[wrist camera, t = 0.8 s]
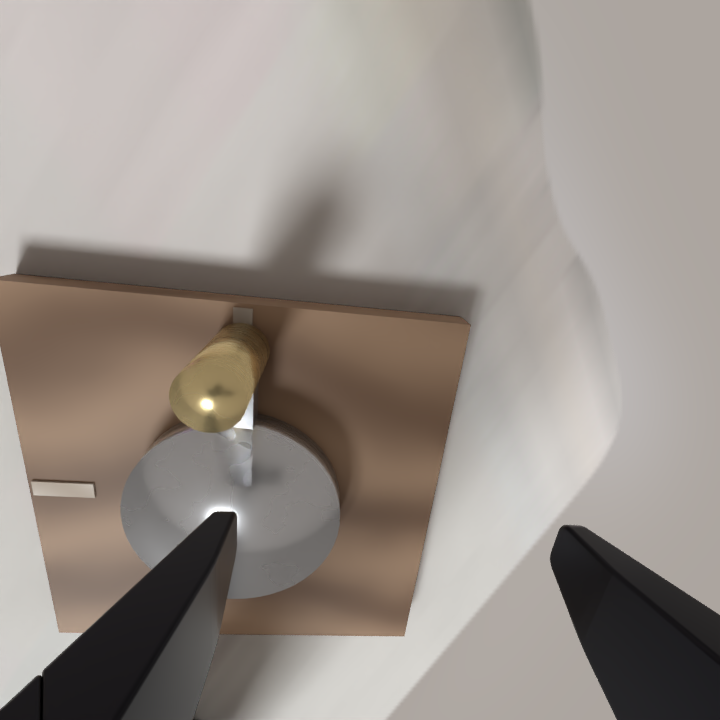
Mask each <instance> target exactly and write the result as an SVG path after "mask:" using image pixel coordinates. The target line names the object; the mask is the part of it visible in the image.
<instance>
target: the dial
mask: <svg viewBox="0 0 720 720" xmlns="http://www.w3.org/2000/svg"><path fill="white" fill-rule="evenodd" d="M269 354H270V347H269V343H268V341H267V338H266V337H265V335H264V334H263V333H262V332H261V331H260V330H259V329H257V328H256V327H254V326H252V325H250V324H246V323H233V324H230V325H227V326H225V327H224V328H222V329H221V330H220V331H219V332H218V333H217V334H216V335H215V336H214V337H213V338H212V340H211V341H210V342H209V343H208V344H207V345H206V346H205V347H204V348H203V349H202V350H201V351H200V352H199V353H198V354H197V355H196V356H195V357H194V358H193V359H192V360H191V361H190V362H189V363H188V365H187V366H186V367H185V368H184V369H183V370H182V371H181V372H180V373H179V374H178V375H177V376H176V377H175V379H174V380H173V382H172V384H171V386H170V390H169V401H170V405H171V408H172V410H173V412H174V413H175V415H176V416H177V417H178V419H179V420H180V421H181V423H179V424H177V425H175V426H173V427H172V428H170V429H169V430H168V431H166V432H165V433H163V434H162V435H161V436H160V437H159V438H158V439H157V440H156V441H155V442H154V443H153V444H152V445H151V447H150V448H149V449H148V451H147V452H146V453H145V454H144V456H143V457H142V458H141V460H140V461H139V462H138V464H137V465H136V466H135V467H134V469H133V470H132V471H131V473H130V475H129V477H128V479H127V481H126V483H125V486H124V489H123V492H122V497H121V504H120V508H121V520H122V525H123V529H124V532H125V534H126V537H127V539H128V541H129V543H130V545H131V547H132V548H133V550H134V551H135V553H136V554H137V555H138V557H139V558H140V559H141V560H142V561H143V562H144V563H145V564H146V565H147V566H148V567H149V568H150V569H151V570H152V569H153V568H154V567H155V566H156V565H157V564H158V563H159V562H160V561H161V560H162V559H163V558H165V557H166V556H167V555H168V554H169V553H170V552H171V551H172V550H173V549H174V548H175V547H176V546H177V545H179V544H180V543H181V542H182V541H183V540H184V539H185V538H186V537H187V536H188V535H189V534H190V533H191V532H193V531H194V530H195V529H196V528H197V527H198V526H199V525H200V524H201V523H202V522H203V521H204V520H205V519H207V518H208V517H209V516H210V515H211V514H212V513H213V512H215V511H233V512H235V513H236V514H237V551H236V557H235V562H234V567H233V572H232V576H231V581H230V586H229V591H228V595H227V599H247V598H255V597H261V596H266V595H270V594H273V593H276V592H279V591H282V590H285V589H287V588H289V587H291V586H294V585H295V584H297V583H299V582H300V581H302V580H304V579H305V578H307V577H308V576H309V575H310V574H312V573H313V572H314V571H315V570H316V569H317V568H318V567H319V566H320V565H321V564H322V563H323V562H324V560H325V559H326V558H327V556H328V555H329V553H330V551H331V550H332V548H333V546H334V543H335V541H336V538H337V535H338V530H339V525H340V500H339V487H338V481H337V478H336V474H335V471H334V469H333V467H332V465H331V463H330V461H329V459H328V458H327V456H326V455H325V453H324V452H323V451H322V450H321V448H320V447H319V446H318V445H317V444H316V443H315V442H314V441H313V440H312V439H311V438H309V437H308V436H307V435H306V434H304V433H303V432H302V431H300V430H299V429H297V428H296V427H294V426H292V425H290V424H288V423H286V422H284V421H282V420H279V419H276V418H274V417H271V416H267V415H263V414H259V413H258V384H259V379H260V377H261V375H262V372H263V370H264V368H265V366H266V363H267V361H268V359H269Z"/></svg>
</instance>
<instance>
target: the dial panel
mask: <svg viewBox="0 0 720 720" xmlns="http://www.w3.org/2000/svg"><path fill="white" fill-rule="evenodd" d="M233 323H246V324H250V325H252V326H254V327H256V328H257V329H259V330H260V331H261V332H262V333H263V334H264V335H265V337H266V338H267V341H268V343H269V347H270V354H269V359H268V361H267V363H266V366H265V368H264V370H263V372H262V375H261V377H260V379H259V384H258V413H259V414H263V415H267V416H271V417H274V418H276V419H279V420H282V421H284V422H286V423H288V424H290V425H292V426H294V427H296V428H297V429H299V430H300V431H302V432H303V433H304V434H306V435H307V436H308V437H309V438H311V439H312V440H313V441H314V442H315V443H316V444H317V445H318V446H319V447H320V448H321V450H322V451H323V452H324V453H325V455H326V456H327V458H328V459H329V461H330V463H331V465H332V467H333V469H334V471H335V474H336V478H337V481H338V487H339V500H340V525H339V530H338V535H337V538H336V541H335V543H334V546H333V548H332V550H331V551H330V553H329V555H328V556H327V558H326V559H325V560H324V562H323V563H322V564H321V565H320V566H319V567H318V568H317V569H316V570H315V571H314V572H313V573H312V574H310V575H309V576H308V577H307V578H305V579H304V580H302V581H300V582H299V583H297V584H295V585H294V586H291V587H289V588H287V589H285V590H282V591H279V592H276V593H273V594H270V595H266V596H261V597H255V598H247V599H227V600H226V605H225V610H224V614H223V619H222V624H221V629H220V633H219V634H247V635H338V636H404V635H405V630H406V625H407V621H408V616H409V611H410V607H411V602H412V597H413V593H414V588H415V583H416V579H417V574H418V569H419V564H420V560H421V555H422V550H423V546H424V541H425V536H426V532H427V527H428V522H429V518H430V513H431V508H432V504H433V499H434V494H435V490H436V485H437V480H438V476H439V471H440V466H441V462H442V457H443V452H444V448H445V443H446V438H447V434H448V429H449V424H450V420H451V415H452V410H453V405H454V401H455V396H456V391H457V387H458V382H459V377H460V373H461V368H462V363H463V359H464V354H465V349H466V345H467V340H468V335H469V331H470V326H471V325H470V324H469V323H468V322H466V321H465V320H464V319H463V318H461V317H458V316H447V315H437V314H427V313H416V312H406V311H396V310H385V309H375V308H365V307H354V306H344V305H333V304H323V303H313V302H302V301H292V300H282V299H271V298H261V297H251V296H240V295H230V294H219V293H209V292H199V291H188V290H178V289H168V288H157V287H147V286H137V285H126V284H116V283H105V282H95V281H85V280H74V279H64V278H54V277H43V276H33V275H23V274H11V275H6V276H0V347H1V352H2V357H3V362H4V366H5V371H6V376H7V381H8V386H9V391H10V396H11V400H12V405H13V410H14V415H15V420H16V425H17V430H18V434H19V439H20V444H21V449H22V454H23V459H24V464H25V468H26V473H27V478H28V483H29V488H30V493H31V498H32V503H33V507H34V512H35V517H36V522H37V527H38V532H39V537H40V541H41V546H42V551H43V556H44V561H45V566H46V571H47V575H48V580H49V585H50V590H51V595H52V600H53V605H54V610H55V614H56V619H57V624H58V629H59V632H66V633H84V632H85V631H86V630H87V629H88V628H89V627H90V626H91V625H92V624H93V623H95V622H96V621H97V620H98V619H99V618H100V617H101V616H102V615H103V614H104V613H105V612H106V611H107V610H109V609H110V608H111V607H112V606H113V605H114V604H115V603H116V602H117V601H118V600H119V599H120V598H121V597H123V596H124V595H125V594H126V593H127V592H128V591H129V590H130V589H131V588H132V587H133V586H134V585H135V584H137V583H138V582H139V581H140V580H141V579H142V578H143V577H144V576H145V575H146V574H147V573H148V572H149V571H151V569H150V568H149V567H148V566H147V565H146V564H145V563H144V562H143V561H142V560H141V559H140V558H139V557H138V555H137V554H136V553H135V551H134V550H133V548H132V547H131V545H130V543H129V541H128V539H127V537H126V534H125V532H124V529H123V525H122V520H121V508H120V504H121V497H122V492H123V489H124V486H125V483H126V481H127V479H128V477H129V475H130V473H131V471H132V470H133V469H134V467H135V466H136V465H137V464H138V462H139V461H140V460H141V458H142V457H143V456H144V454H145V453H146V452H147V451H148V449H149V448H150V447H151V445H152V444H153V443H154V442H155V441H156V440H157V439H158V438H159V437H160V436H161V435H162V434H163V433H165V432H166V431H168V430H169V429H170V428H172V427H173V426H175V425H177V424H179V423H181V421H180V420H179V419H178V417H177V416H176V415H175V413H174V412H173V410H172V408H171V405H170V401H169V390H170V386H171V384H172V382H173V380H174V379H175V377H176V376H177V375H178V374H179V373H180V372H181V371H182V370H183V369H184V368H185V367H186V366H187V365H188V363H189V362H190V361H191V360H192V359H193V358H194V357H195V356H196V355H197V354H198V353H199V352H200V351H201V350H202V349H203V348H204V347H205V346H206V345H207V344H208V343H209V342H210V341H211V340H212V338H213V337H214V336H215V335H216V334H217V333H218V332H219V331H220V330H221V329H222V328H224V327H225V326H227V325H230V324H233Z"/></svg>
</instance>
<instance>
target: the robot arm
mask: <svg viewBox="0 0 720 720" xmlns="http://www.w3.org/2000/svg"><path fill="white" fill-rule="evenodd" d="M236 551H237V514H236V513H235V512H233V511H215V512H213V513H212V514H211V515H210V516H209V517H208V518H207V519H205V520H204V521H203V522H202V523H201V524H200V525H199V526H198V527H197V528H196V529H195V530H194V531H193V532H191V533H190V534H189V535H188V536H187V537H186V538H185V539H184V540H183V541H182V542H181V543H180V544H179V545H177V546H176V547H175V548H174V549H173V550H172V551H171V552H170V553H169V554H168V555H167V556H166V557H165V558H163V559H162V560H161V561H160V562H159V563H158V564H157V565H156V566H155V567H154V568H153V569H152V570H151V571H149V572H148V573H147V574H146V575H145V576H144V577H143V578H142V579H141V580H140V581H139V582H138V583H137V584H135V585H134V586H133V587H132V588H131V589H130V590H129V591H128V592H127V593H126V594H125V595H124V596H123V597H121V598H120V599H119V600H118V601H117V602H116V603H115V604H114V605H113V606H112V607H111V608H110V609H109V610H107V611H106V612H105V613H104V614H103V615H102V616H101V617H100V618H99V619H98V620H97V621H96V622H95V623H93V624H92V625H91V626H90V627H89V628H88V629H87V630H86V631H85V632H84V633H83V634H82V635H81V636H79V637H78V638H77V639H76V640H75V641H74V642H73V643H72V644H71V645H70V646H69V647H68V648H67V649H65V650H64V651H63V652H62V653H61V654H60V655H59V656H58V657H57V658H56V659H55V660H54V661H53V662H51V663H50V664H49V665H48V666H47V667H46V668H45V669H44V670H43V672H42V676H40V675H38V676H36V677H35V678H34V679H33V680H32V681H31V682H30V683H29V684H27V685H26V686H25V687H24V688H23V689H22V690H21V691H20V692H19V693H18V694H17V695H16V696H15V697H13V698H12V699H11V700H10V701H9V702H8V703H7V704H6V705H5V706H4V707H2V708H1V709H0V720H193V717H194V714H195V711H196V708H197V705H198V702H199V699H200V696H201V693H202V689H203V686H204V683H205V680H206V677H207V674H208V671H209V668H210V665H211V661H212V658H213V655H214V652H215V648H216V645H217V641H218V637H219V633H220V629H221V624H222V619H223V614H224V610H225V605H226V600H227V595H228V591H229V586H230V581H231V576H232V572H233V567H234V562H235V557H236ZM550 562H551V566H552V570H553V572H554V575H555V577H556V580H557V583H558V585H559V588H560V591H561V593H562V596H563V599H564V601H565V604H566V606H567V609H568V612H569V614H570V617H571V620H572V622H573V625H574V628H575V630H576V633H577V635H578V638H579V640H580V642H581V645H582V647H583V649H584V652H585V654H586V656H587V658H588V660H589V662H590V665H591V667H592V669H593V671H594V673H595V675H596V677H597V679H598V681H599V683H600V685H601V687H602V689H603V692H604V694H605V696H606V698H607V700H608V702H609V704H610V706H611V708H612V710H613V712H614V715H615V717H616V719H617V720H720V615H719V614H717V613H716V612H714V611H713V610H711V609H710V608H708V607H707V606H705V605H704V604H702V603H701V602H699V601H697V600H696V599H694V598H693V597H691V596H690V595H688V594H686V593H685V592H684V591H682V590H680V589H679V588H678V587H676V586H674V585H673V584H671V583H670V582H668V581H667V580H665V579H664V578H662V577H661V576H659V575H658V574H656V573H654V572H653V571H651V570H650V569H648V568H647V567H645V566H644V565H642V564H641V563H639V562H637V561H636V560H634V559H633V558H631V557H630V556H628V555H627V554H625V553H624V552H622V551H621V550H619V549H618V548H616V547H615V546H613V545H611V544H610V543H608V542H607V541H605V540H604V539H602V538H601V537H599V536H597V535H596V534H595V533H593V532H592V531H590V530H588V529H587V528H585V527H583V526H579V525H563V526H562V527H561V528H560V529H559V532H558V535H557V537H556V540H555V543H554V546H553V548H552V552H551V556H550Z"/></svg>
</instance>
